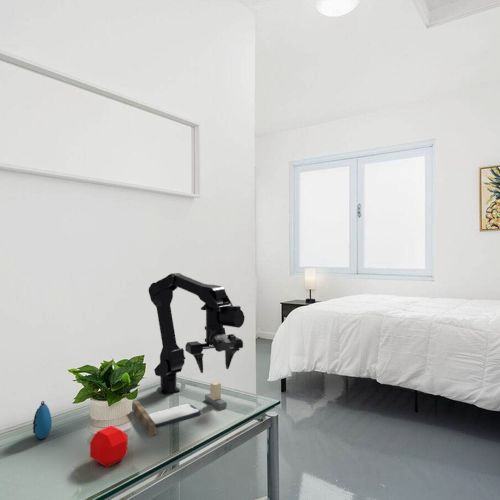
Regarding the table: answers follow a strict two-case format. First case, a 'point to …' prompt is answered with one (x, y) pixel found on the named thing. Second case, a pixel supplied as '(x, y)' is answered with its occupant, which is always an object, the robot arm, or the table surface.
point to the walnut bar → (144, 418)
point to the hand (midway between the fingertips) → (214, 370)
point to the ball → (109, 446)
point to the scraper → (215, 396)
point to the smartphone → (174, 414)
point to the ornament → (42, 421)
